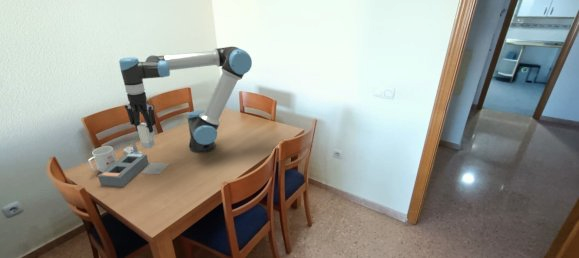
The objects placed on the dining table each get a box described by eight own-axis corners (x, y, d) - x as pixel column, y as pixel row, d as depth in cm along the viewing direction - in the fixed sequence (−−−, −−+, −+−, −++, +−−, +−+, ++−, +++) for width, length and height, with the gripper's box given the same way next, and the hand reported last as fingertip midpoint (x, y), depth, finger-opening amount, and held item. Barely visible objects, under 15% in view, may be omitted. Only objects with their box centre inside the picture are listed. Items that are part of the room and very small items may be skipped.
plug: (154, 144, 136) (149, 123, 131) (150, 148, 133) (145, 126, 128) (147, 144, 137) (142, 122, 132) (142, 147, 133) (137, 125, 128)
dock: (148, 164, 145) (146, 154, 142) (123, 188, 126) (119, 177, 123) (129, 162, 146) (127, 152, 143) (101, 186, 127) (97, 175, 125)
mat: (169, 164, 145) (168, 163, 145) (159, 175, 136) (158, 174, 136) (151, 163, 146) (151, 162, 146) (140, 173, 137) (140, 172, 137)
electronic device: (127, 134, 157) (140, 141, 148) (132, 149, 161) (144, 156, 152) (118, 138, 153) (130, 145, 144) (123, 153, 157) (135, 160, 148)
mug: (110, 162, 146) (104, 144, 141) (122, 166, 143) (116, 147, 139) (88, 174, 136) (81, 155, 131) (100, 178, 133) (93, 159, 128)
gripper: (158, 90, 126) (166, 135, 135) (124, 89, 127) (135, 133, 137) (148, 95, 119) (158, 142, 129) (112, 93, 120) (125, 140, 130)
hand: (146, 137), depth 133 cm, fingers closed on plug, 4 cm apart
